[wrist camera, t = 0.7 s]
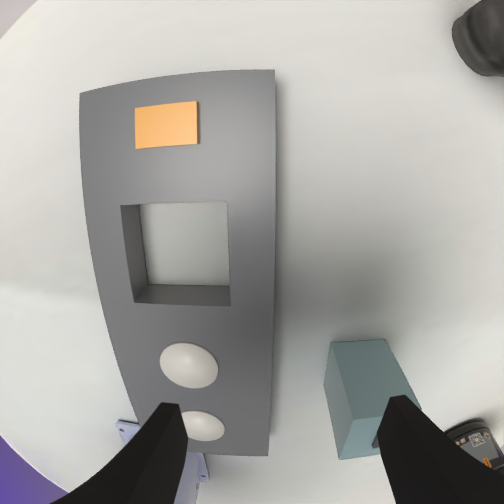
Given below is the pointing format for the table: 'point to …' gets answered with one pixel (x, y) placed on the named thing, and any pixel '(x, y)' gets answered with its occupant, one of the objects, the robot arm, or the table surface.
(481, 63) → the beverage cup
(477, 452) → the supplement container
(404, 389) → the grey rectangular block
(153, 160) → the control panel
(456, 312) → the table surface
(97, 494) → the robot arm
